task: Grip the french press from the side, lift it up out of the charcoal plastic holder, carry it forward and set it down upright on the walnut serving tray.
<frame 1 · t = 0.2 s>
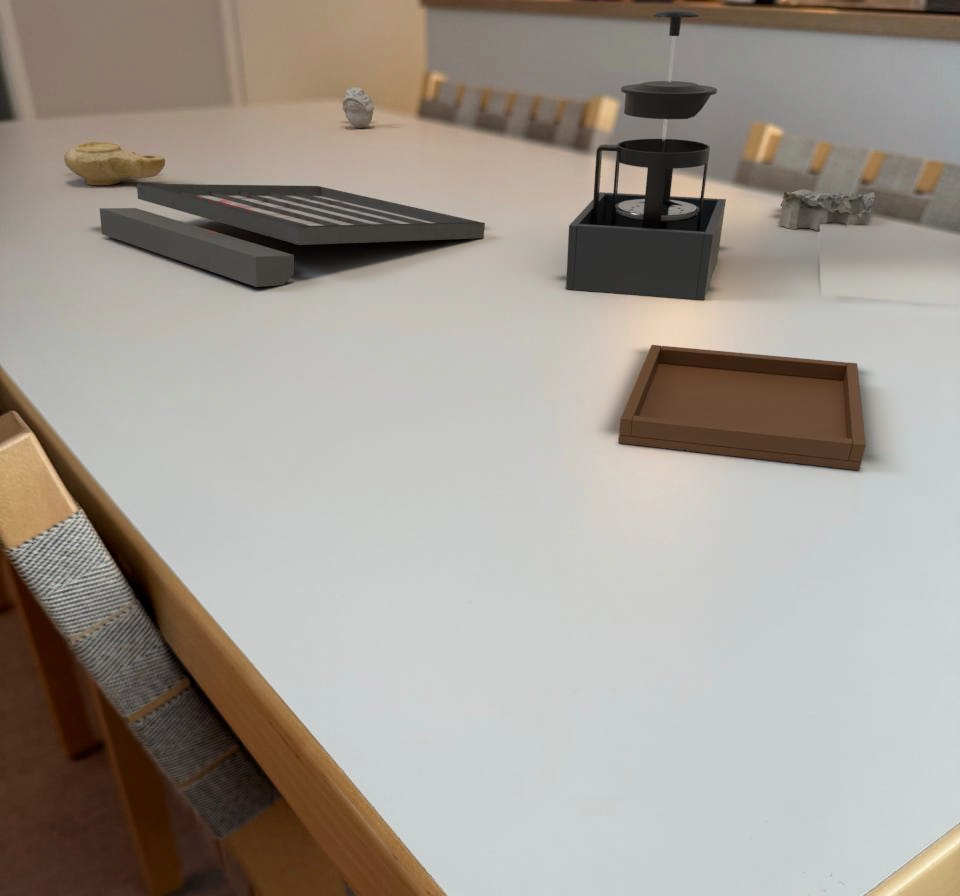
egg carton: (822, 227, 118), on the table
oil lamp: (119, 184, 140), on the table
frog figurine: (359, 129, 186), on the table
dark grey wedge stand: (293, 239, 113), on the table
french press: (645, 274, 100), resting in holder
holder: (645, 272, 100), on the table
tray: (742, 412, 69), on the table
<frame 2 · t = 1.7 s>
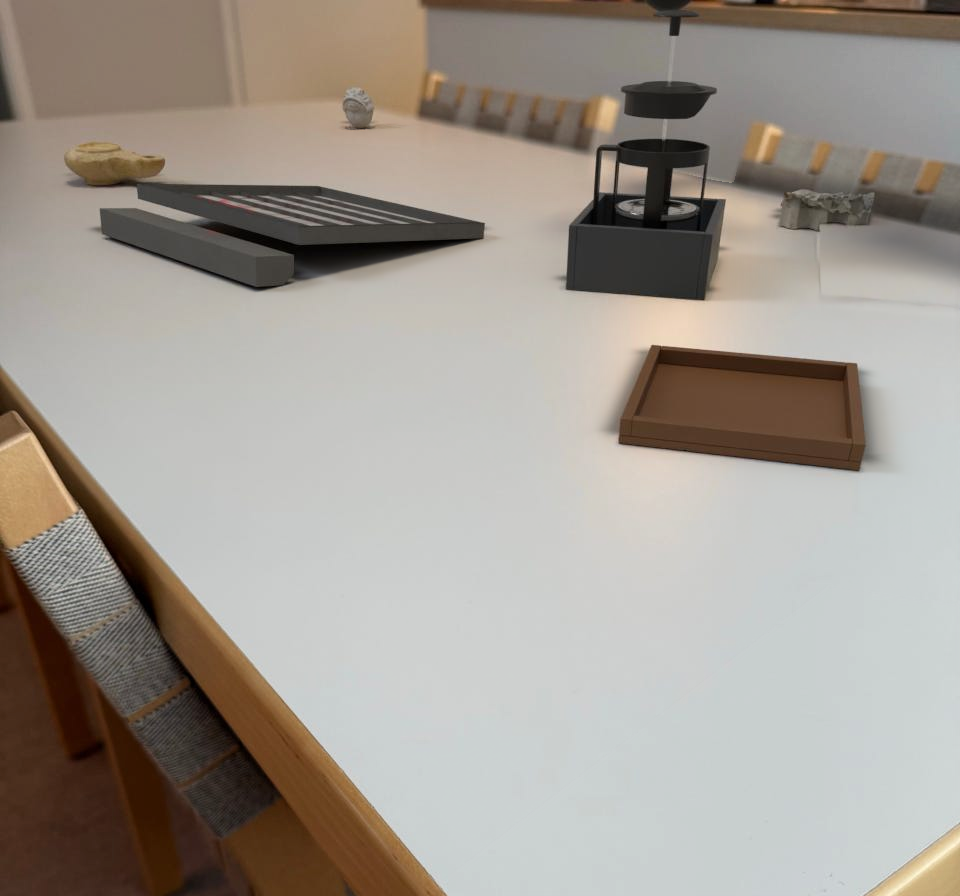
nothing on the table moved.
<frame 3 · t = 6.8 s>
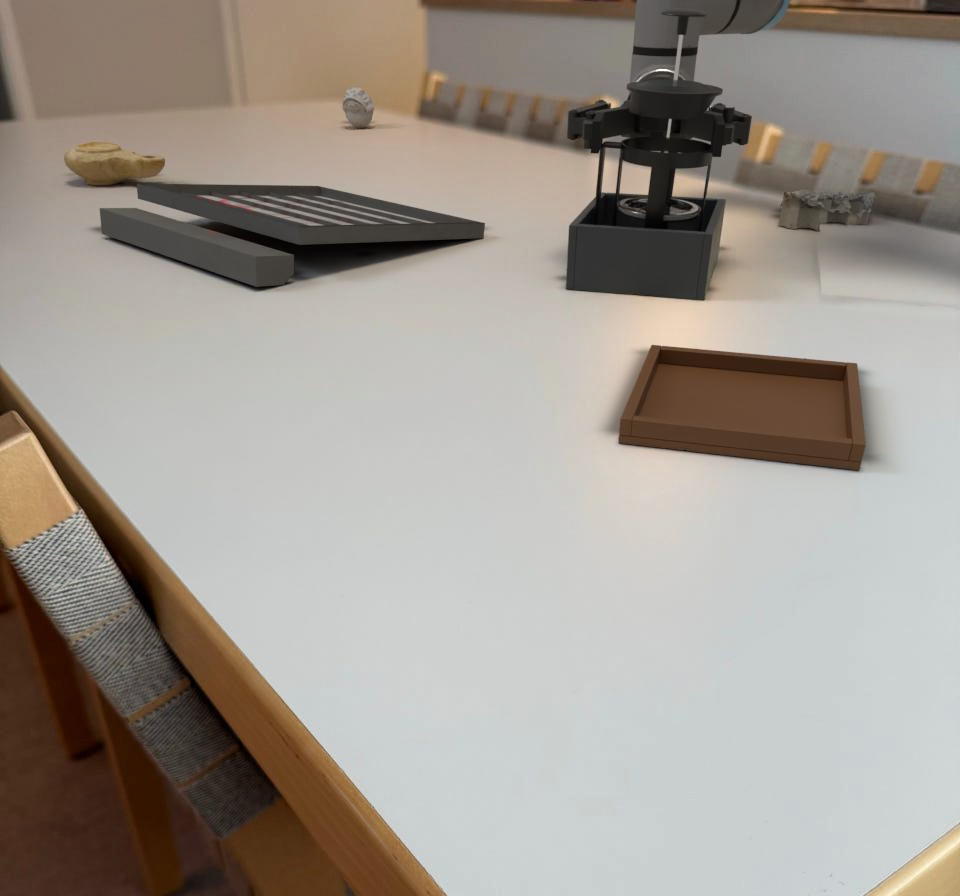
hand: (656, 139, 89), 13 cm above the table, tool horizontal, fingers closed on french press, 11 cm apart
french press: (645, 273, 100), resting in holder, touching gripper
everything else where it was.
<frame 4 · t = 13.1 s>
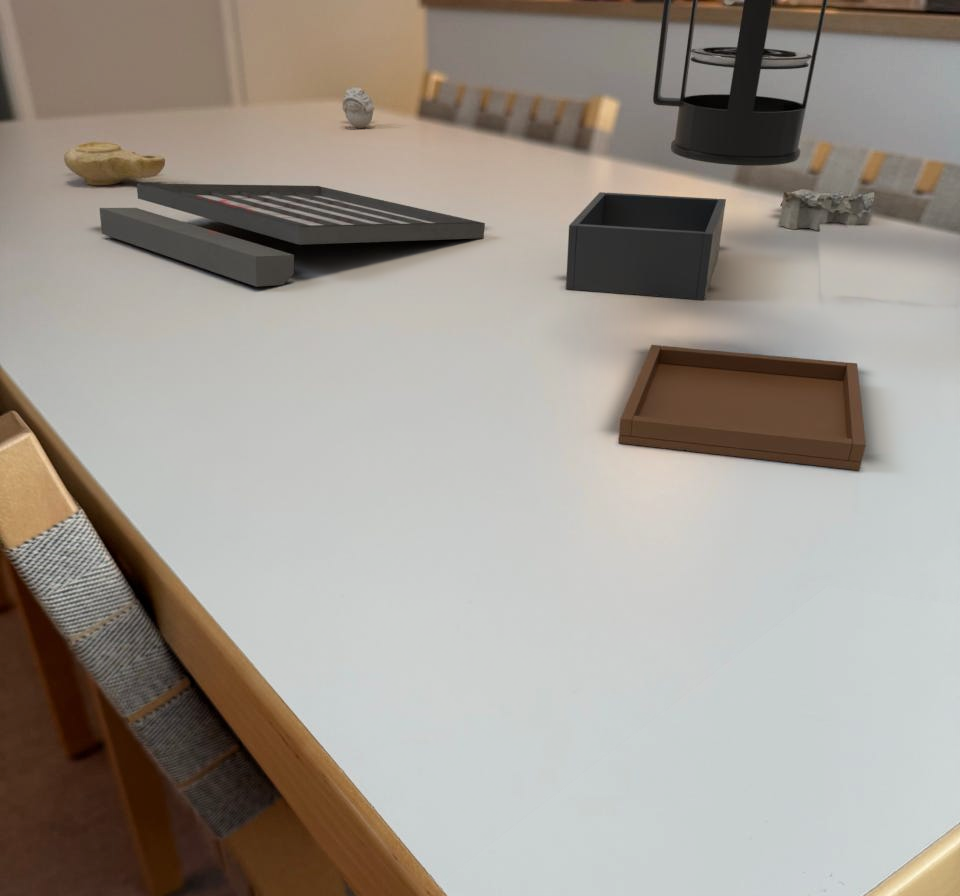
french press: (726, 156, 71), point 15 cm above the table, touching gripper
everything else where it was.
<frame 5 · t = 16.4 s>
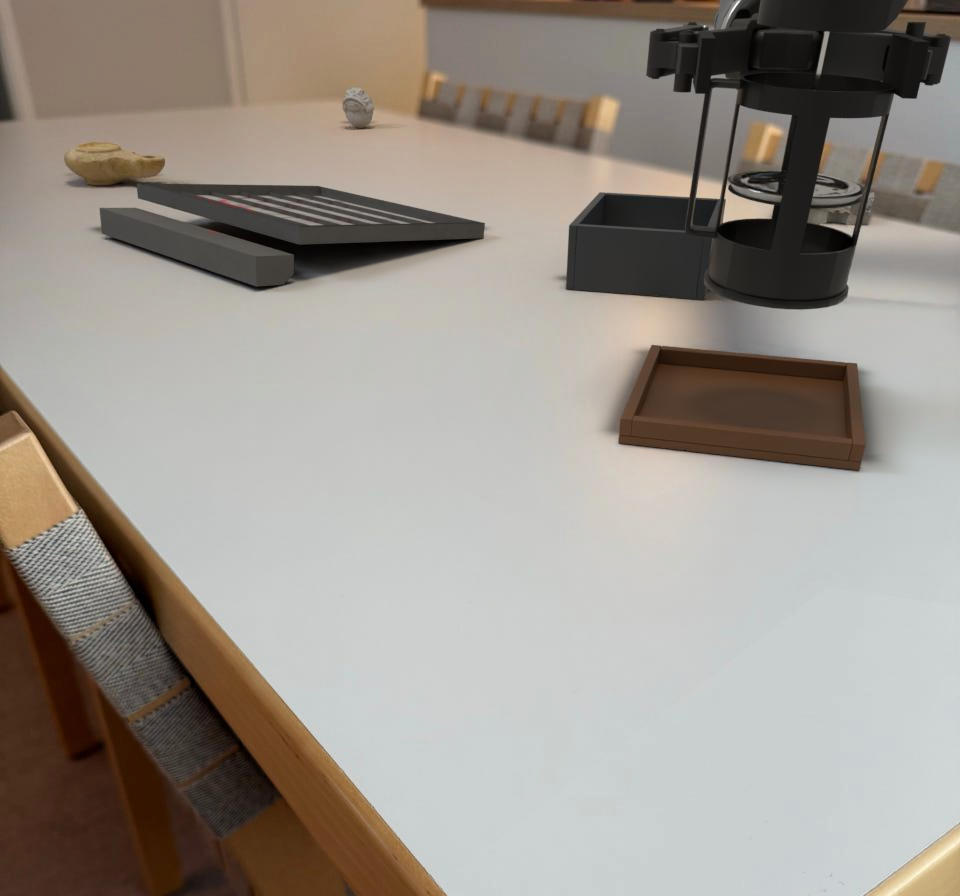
hand: (809, 68, 53), 22 cm above the table, tool horizontal, fingers closed on french press, 11 cm apart
french press: (765, 289, 64), point 9 cm above the table, touching gripper
everything else where it was.
when the fingers open (14 cm above the table, at t = 19.2 s): french press stays where it is, resting on tray.
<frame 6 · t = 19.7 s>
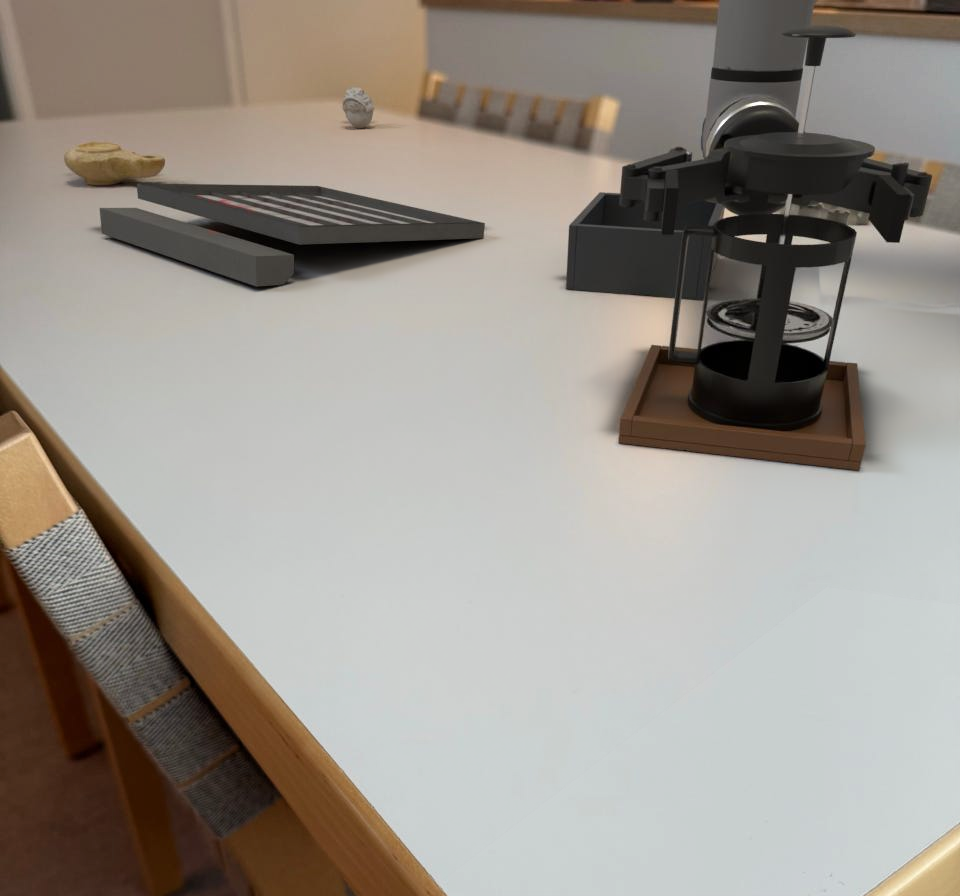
hand: (782, 215, 58), 14 cm above the table, tool horizontal, fingers open, 13 cm apart
french press: (745, 408, 69), resting on tray
everything else where it was.
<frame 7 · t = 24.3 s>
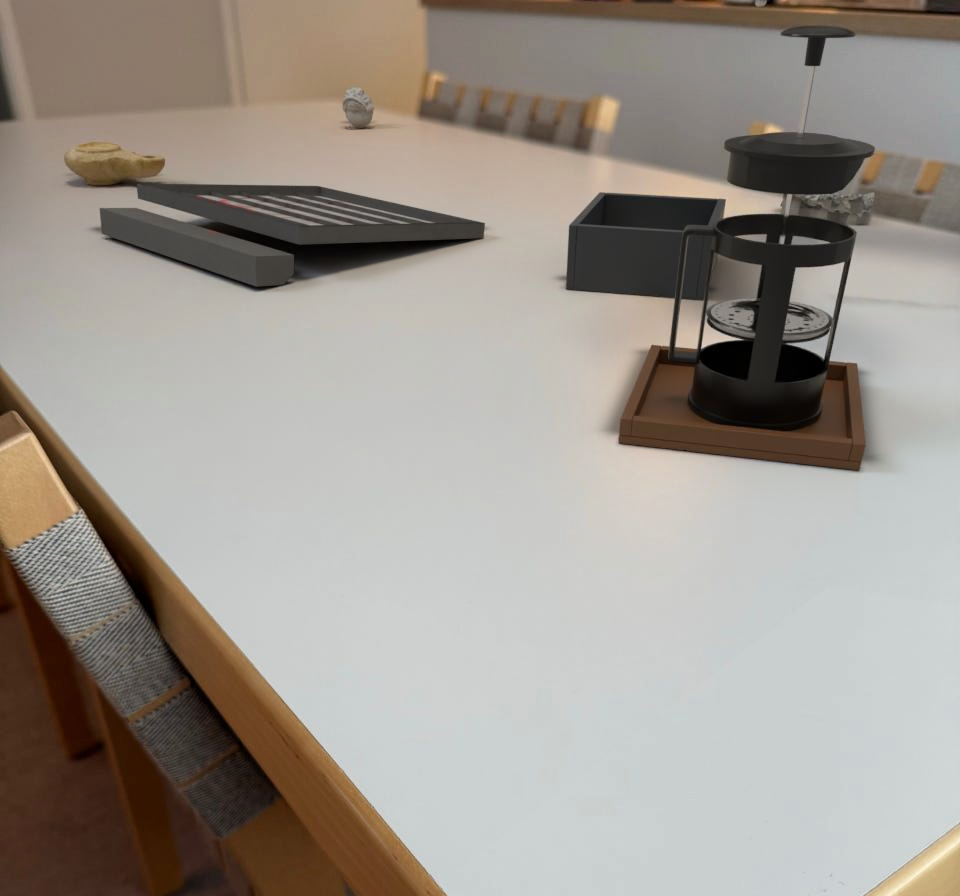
nothing on the table moved.
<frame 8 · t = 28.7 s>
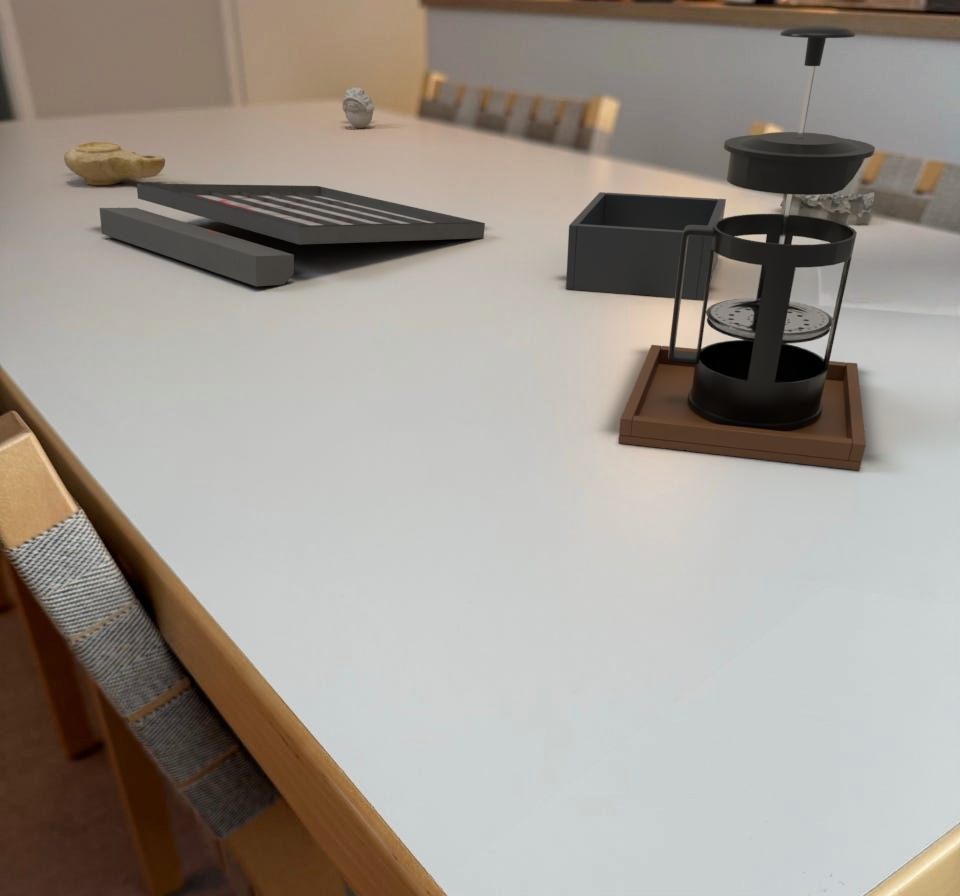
nothing on the table moved.
at the end: french press inside the target area in the tray (0.2 cm from its centre), point 0.4 cm above the tray's base; french press tilted 0°; the gripper is holding nothing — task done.
